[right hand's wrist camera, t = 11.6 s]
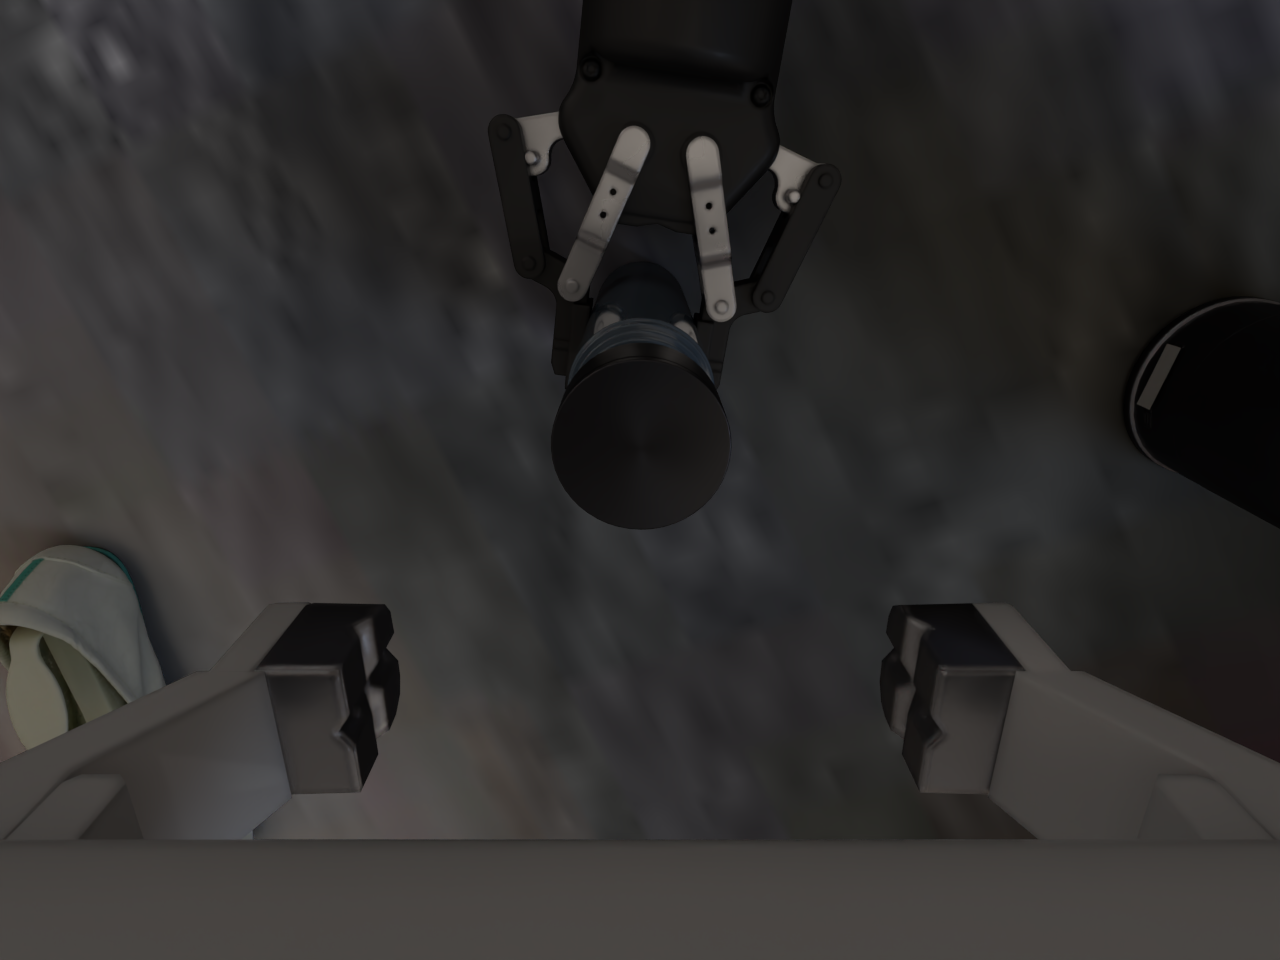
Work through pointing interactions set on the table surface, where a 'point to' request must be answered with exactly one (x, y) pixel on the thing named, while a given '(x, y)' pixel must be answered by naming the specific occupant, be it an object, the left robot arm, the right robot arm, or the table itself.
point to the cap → (641, 437)
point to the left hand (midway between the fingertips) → (633, 392)
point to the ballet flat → (73, 642)
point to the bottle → (641, 316)
